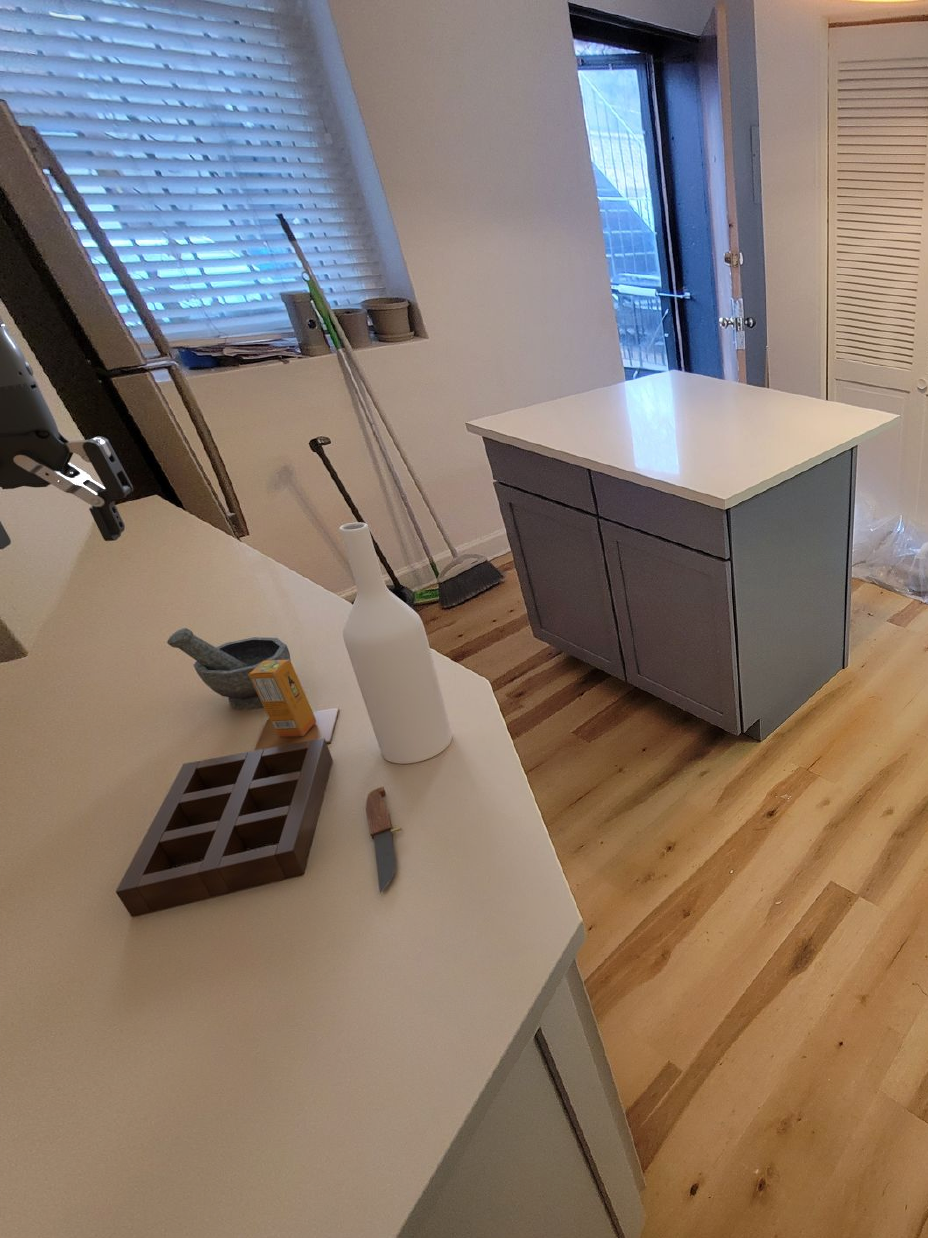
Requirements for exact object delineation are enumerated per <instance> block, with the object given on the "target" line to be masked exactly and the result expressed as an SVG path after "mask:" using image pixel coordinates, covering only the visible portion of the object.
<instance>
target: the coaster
mask: <svg viewBox="0 0 928 1238" xmlns="http://www.w3.org/2000/svg"><path fill="white" fill-rule="evenodd" d="M339 713H340V707H334V708H328V709H327V708H326V709H322V710H315V711H313V714H314V716H315V719H316V723H315V724H314V725H313V726H312V727H311V728H310V729H309V731H308V732H307V733H306V734H305V736H300V737H278V735H277V733H276V731H275V729H274V727H273V725H272V723H271V721H270V719H269V718H268V719H266V721H265V724H264V726H263V729H262V731H261V733H260V736H259V738H258V740H257V743H256V746H255V748H254V750H253V751H256V750H261V749H267V748H272V747H278V746H283V745H289V744H294V743H299V742H305V741H311V740H316V739H322V738H325V741H326V743H327V745H330V744H331V743H332V739H333V735H334V732H335V728H336V724H337V720H338V717H339Z"/></svg>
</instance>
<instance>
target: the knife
mask: <svg viewBox="0 0 928 1238" xmlns="http://www.w3.org/2000/svg"><path fill="white" fill-rule="evenodd" d="M386 796H387V794H386V790H385V787H384V786H380V787H377V788H375V789H372V791H370V792H369V793H368V794H367V797H366V803H365V812H366V818H367V823H368V830H369V836H370V838H371V841H373V844H374V853H375V861H376V862H375V863H376V869H377V870H376V872H377V881H378V889H379V894H382V892H383V891H384V889H385V888H386V887H387V886H388V884H389V883H390V882H391V880H392V879H393V878H394V877H393V876H394V874H395V871H396V866H397V865H396V858H395V849H394V840H393V834H395V833H398V832H401V831H403V830H404V829H403V826H399V827H396V828H394V829H393V824H392V821H391V816H390V813H389V810H388V808H387V806H386V804H385V801H384V799H383V797H386Z"/></svg>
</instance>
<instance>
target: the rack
mask: <svg viewBox="0 0 928 1238" xmlns="http://www.w3.org/2000/svg"><path fill="white" fill-rule="evenodd" d="M333 761H334V759H333V757H332V754H331V752H330V748H329V746H328V744H327V743H326V741H325V738H322V739H316V740H311V741H305V742H299V743H294V744H289V745H283V746H278V747H272V748H267V749H261V750H256V751H254V750H251V751H246V752H241V753H234V754H230V755H223V756H218V757H212V758H207V759H202V760H197V761H190V762H185V763H183V764H182V765H181V767H180V768H179V771H178V773H177V775H176V777H175V779H174V781H173V782H172V784H171V786H170V788H169V790H168V791H167V793H166V795H165V798H164V799H163V801H162V803H161V805H160V807H159V808H158V811H157V813H156V815H155V816H154V818H153V820H152V821H151V824H150V825H149V827H148V829H147V831H146V833H145V835H144V837H143V838H142V840H141V842H140V845H139V847H138V848H137V850H136V852H135V855H134V856H133V858H132V860H131V862H130V863H129V865H128V867H127V869H126V871H125V873H124V875H123V877H122V878H121V881H120V882H119V884H118V886H117V888H116V890H115V894H116V895H117V897H118V898H119V900H120V901H121V902H122V905H123V906H124V907H125V910H126V911H127V912H128V914H129V915H130V917H131V918H134V917H137V916H142V915H147V914H149V913H154V912H159V911H162V910H167V909H170V908H174V907H178V906H182V905H186V904H190V903H195V902H198V901H199V902H200V901H202V900H206V899H210V898H215V897H219V896H223V895H227V894H231V893H235V892H239V891H245V890H248V889H252V888H256V887H260V886H263V885H267V884H272V883H275V882H276V883H277V882H280V881H284V880H286V879H291V878H295V877H300V876H303V875H305V872H306V868H307V863H308V860H309V856H310V851H311V848H312V843H313V840H314V836H315V832H316V828H317V824H318V820H319V817H320V813H321V808H322V805H323V801H324V796H325V792H326V789H327V784H328V781H329V780H328V779H329V776H330V773H331V770H332V765H333ZM277 843H278V844H277ZM256 848H257V849H256ZM246 850H247V851H246ZM194 862H195V863H194ZM185 864H186V865H185ZM177 866H178V867H177Z"/></svg>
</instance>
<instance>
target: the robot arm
mask: <svg viewBox="0 0 928 1238" xmlns="http://www.w3.org/2000/svg"><path fill="white" fill-rule="evenodd" d="M74 454H76V455H78V456H79V457H81V459H82V460H83V461H85V462H86V463H90V464H91V466H92V467H93V469H94V471H95V473H96V474H97V476H98V478H99V480H100V481H101V483H102V484H100V483H99V482H97V481H96V480H94V479H93V478H92V477H91V475H89V473H87V472H86V471H84V470H82V469H81V468H79V467H78V466H76V465H74V464H73V463H71V459H72V458H73V455H74ZM50 485H52V486H54V487H55V488H57V489H58V490H61V491H63V493H67V494H71V495H73V496H74V497H77V498H78V499H80V500H81V501H84V502H85V503H87V504H88V505H90V507H89V508H88V511H89V512H90V514H91V517H92V518H93V520H94V522H95V525H96V526H97V529H98V530H99V533H100V535H101V537H102V539H103V540H104V541H105V542H112V541H114V542H115V541H117V540H118V539H119V538H120V537H121V536H122V533H123V532H124V531H125V528H126V526H125V523H124V521H123V519H122V517H121V514H120V512H119V510H118V508H117V506H116V503H115V502H116V501H121V500H123V499H124V498H126V497H127V496H128V495H129V494H131V493H132V492H133V491H134V485H133V484H132V482H131V480H130V478H129V476H128V475H127V473H126V471H125V469H124V467H123V465H122V463H121V461H120V459H119V457H118V456H117V454H116V452H115V450H114V448H113V447H112V445H111V443H110V441H109V439H107V437H104V436H101V435H98V436H97V435H96V436H94V437H92V438H90V439H81V440H69V439H67V438H66V437H65V436H64V435H63V434H62V433H61V431H59V429H58V425H57V423H56V419H55V418H54V416H53V414H52V411H51V409H50V407H49V405H48V403H47V401H46V399H45V397H44V395H43V393H42V391H41V389H40V387H39V384H38V382H37V380H36V378H35V376H34V371H33V368H32V367H31V365H30V364H29V363H28V361H27V360H26V358H25V355H24V353H23V352H22V350H21V347H19V345H18V344H17V342H16V340H15V338H13V336H12V334H11V333H10V331H9V329H8V328H7V326H6V325H5V324H4V321H3V318H2V317H1V316H0V488H1V489H2V490H11V489H12V490H13V489H18V488H22V487H28V488H35V489H36V488H47V487H49V486H50ZM11 543H12V540H11V538H10V535H9V534H8V532H7V531H6V528H5V527H4V525H3V523H2V521H0V550H4V549H5V548H7V547H9V546H10V545H11Z"/></svg>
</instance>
